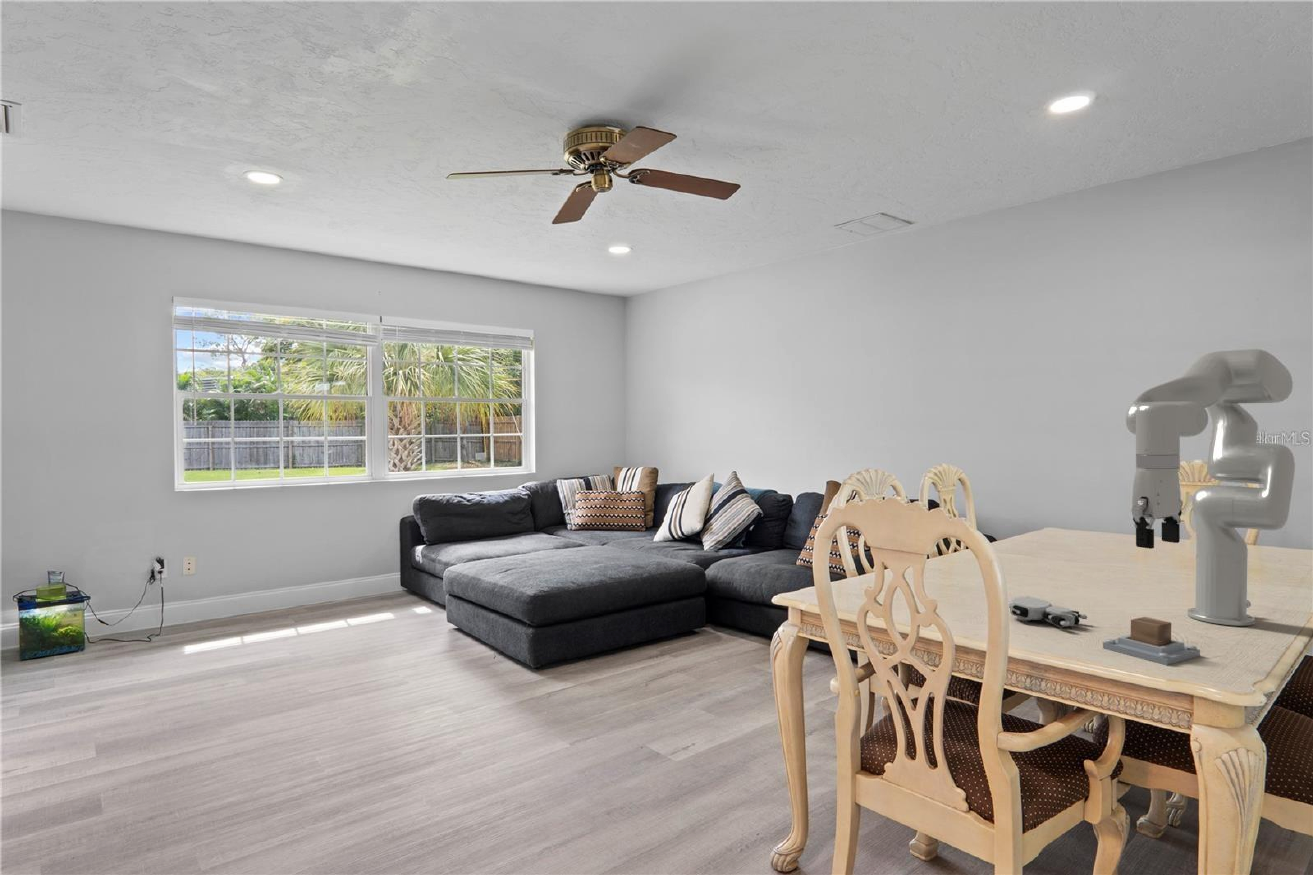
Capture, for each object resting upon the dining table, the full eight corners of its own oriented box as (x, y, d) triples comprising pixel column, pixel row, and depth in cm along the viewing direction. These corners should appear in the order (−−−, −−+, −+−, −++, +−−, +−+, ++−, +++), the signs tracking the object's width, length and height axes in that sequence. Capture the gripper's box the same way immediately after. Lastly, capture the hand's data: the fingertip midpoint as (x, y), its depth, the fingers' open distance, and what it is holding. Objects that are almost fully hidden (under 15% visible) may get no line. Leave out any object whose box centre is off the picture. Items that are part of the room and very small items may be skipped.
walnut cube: (1144, 640, 149) (1144, 616, 149) (1170, 647, 145) (1171, 622, 145) (1130, 644, 147) (1130, 619, 147) (1157, 651, 142) (1157, 625, 142)
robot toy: (1089, 628, 166) (1023, 610, 178) (1091, 609, 166) (1025, 592, 177) (1066, 638, 158) (998, 618, 170) (1068, 618, 158) (1000, 600, 170)
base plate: (1136, 639, 154) (1136, 628, 154) (1199, 655, 143) (1200, 643, 143) (1102, 647, 148) (1103, 636, 148) (1166, 665, 138) (1167, 652, 138)
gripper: (1160, 459, 157) (1160, 537, 158) (1114, 464, 149) (1115, 547, 149) (1199, 461, 150) (1199, 542, 151) (1154, 466, 142) (1154, 553, 143)
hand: (1157, 544), depth 150 cm, fingers open, 9 cm apart
